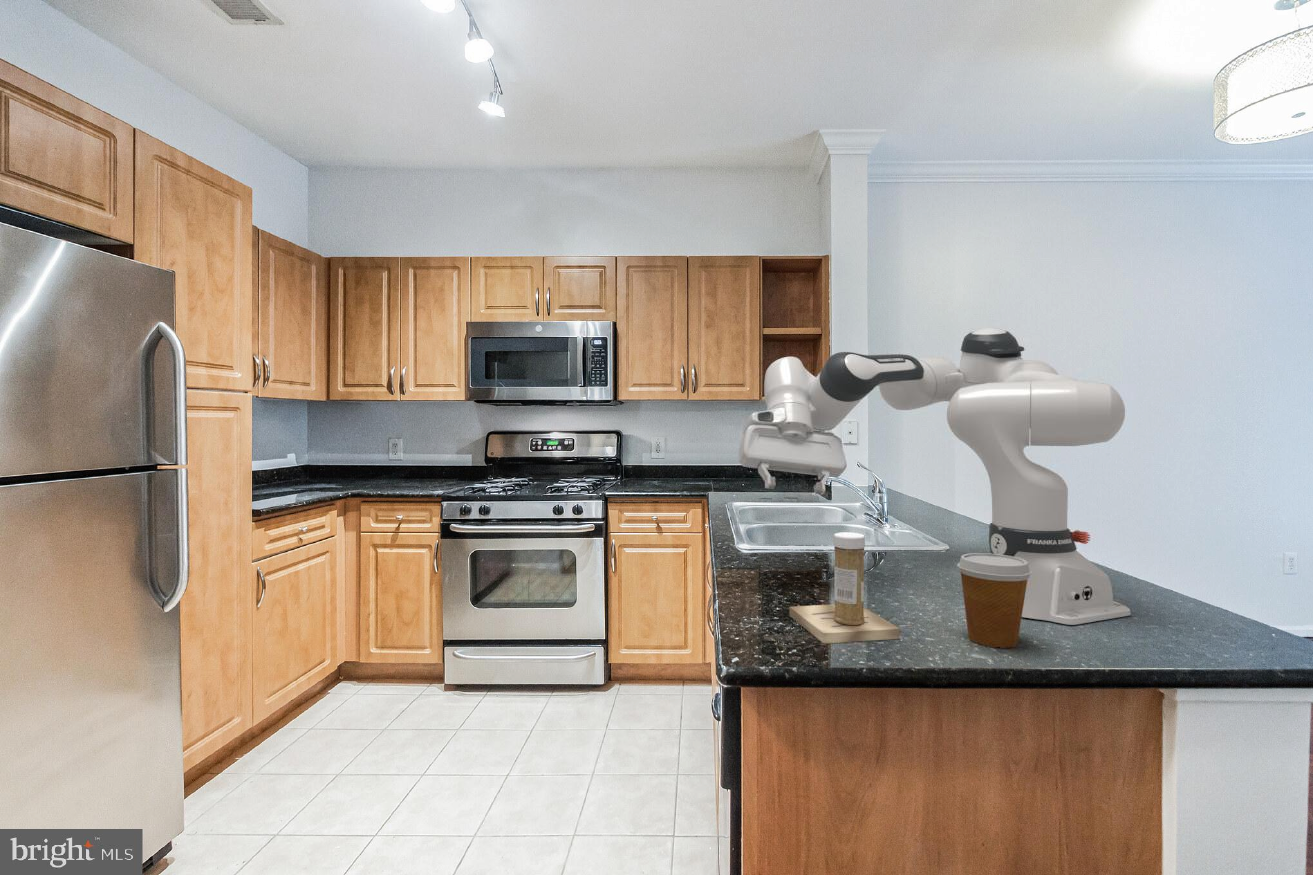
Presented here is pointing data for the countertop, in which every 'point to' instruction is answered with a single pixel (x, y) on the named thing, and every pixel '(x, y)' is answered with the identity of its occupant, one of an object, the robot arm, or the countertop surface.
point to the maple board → (842, 625)
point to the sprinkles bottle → (849, 578)
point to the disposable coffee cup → (993, 597)
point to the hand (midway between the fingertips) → (795, 490)
